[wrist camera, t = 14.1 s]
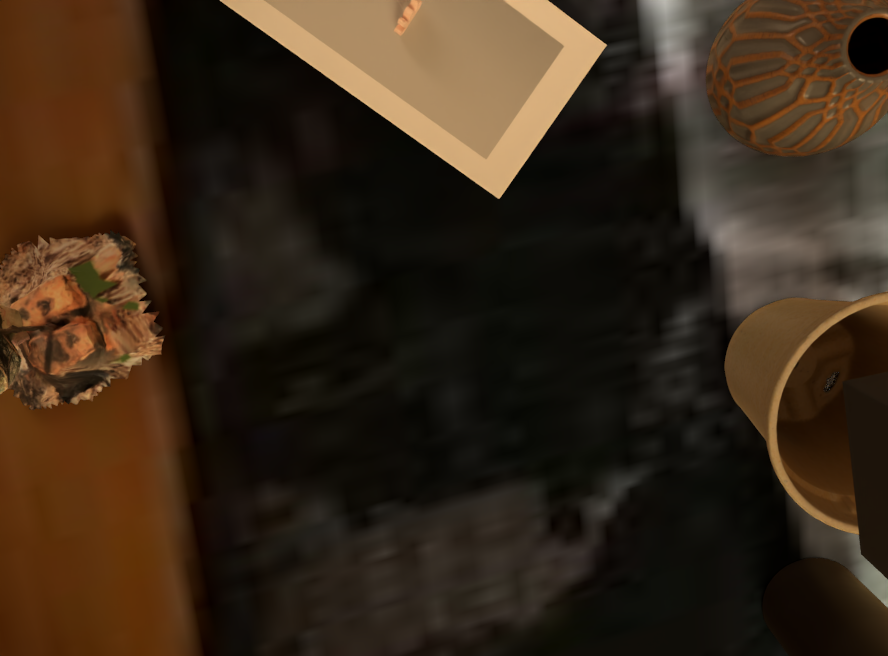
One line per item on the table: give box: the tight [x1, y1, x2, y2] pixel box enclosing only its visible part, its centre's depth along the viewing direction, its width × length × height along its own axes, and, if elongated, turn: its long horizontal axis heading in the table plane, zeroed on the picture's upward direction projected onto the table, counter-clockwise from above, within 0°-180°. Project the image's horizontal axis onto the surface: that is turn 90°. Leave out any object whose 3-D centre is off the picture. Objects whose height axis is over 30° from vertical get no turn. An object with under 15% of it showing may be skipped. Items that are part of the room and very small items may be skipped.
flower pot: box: [724, 292, 888, 535], centre depth 32 cm, size 9×9×9 cm
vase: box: [706, 0, 888, 157], centre depth 29 cm, size 7×7×9 cm
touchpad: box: [220, 0, 606, 199], centre depth 32 cm, size 8×15×2 cm, turn 55°
